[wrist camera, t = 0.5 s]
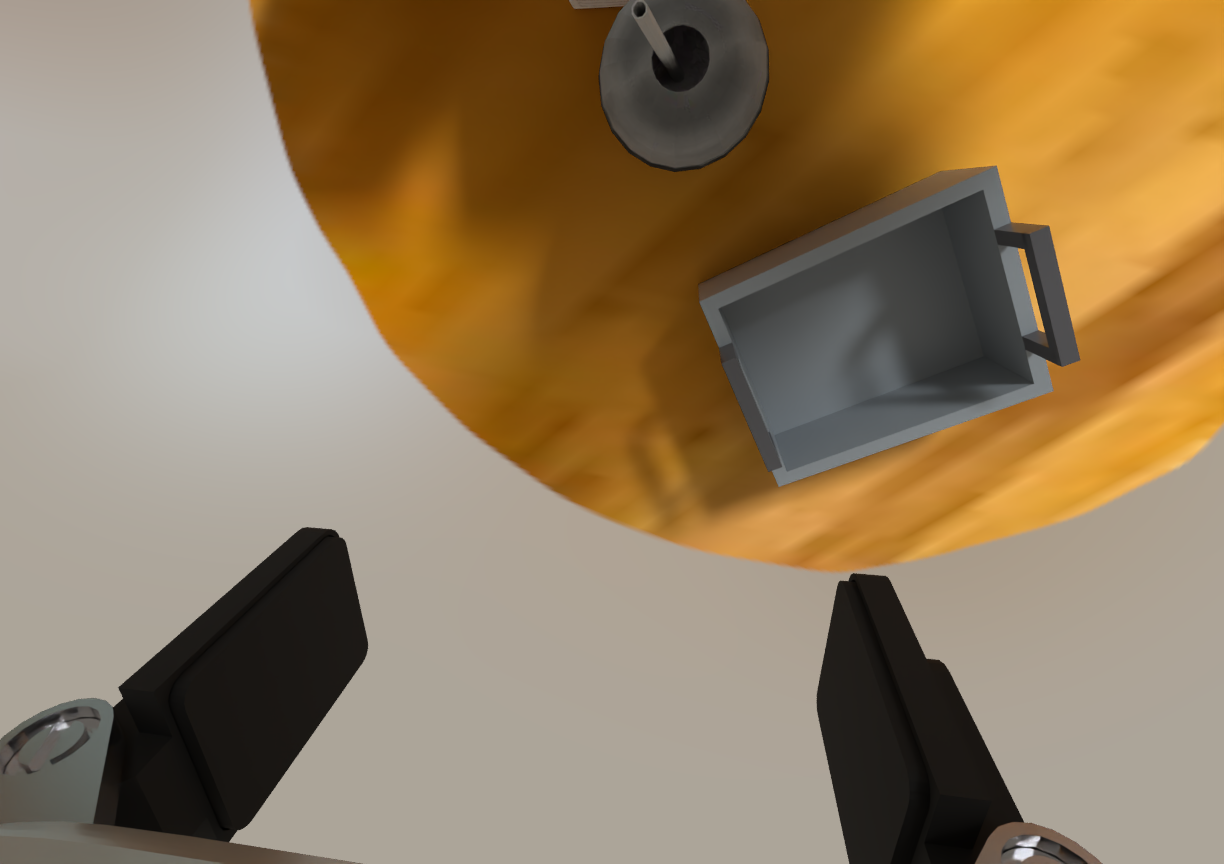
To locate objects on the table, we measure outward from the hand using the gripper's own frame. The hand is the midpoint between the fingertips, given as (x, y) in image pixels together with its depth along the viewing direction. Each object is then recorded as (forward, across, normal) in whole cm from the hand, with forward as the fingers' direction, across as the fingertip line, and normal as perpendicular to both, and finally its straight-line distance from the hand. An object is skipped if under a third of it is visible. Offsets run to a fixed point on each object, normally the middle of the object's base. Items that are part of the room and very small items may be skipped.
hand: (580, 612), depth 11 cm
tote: (+32, -12, +1) cm, 34 cm away
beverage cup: (+32, 0, -11) cm, 34 cm away
